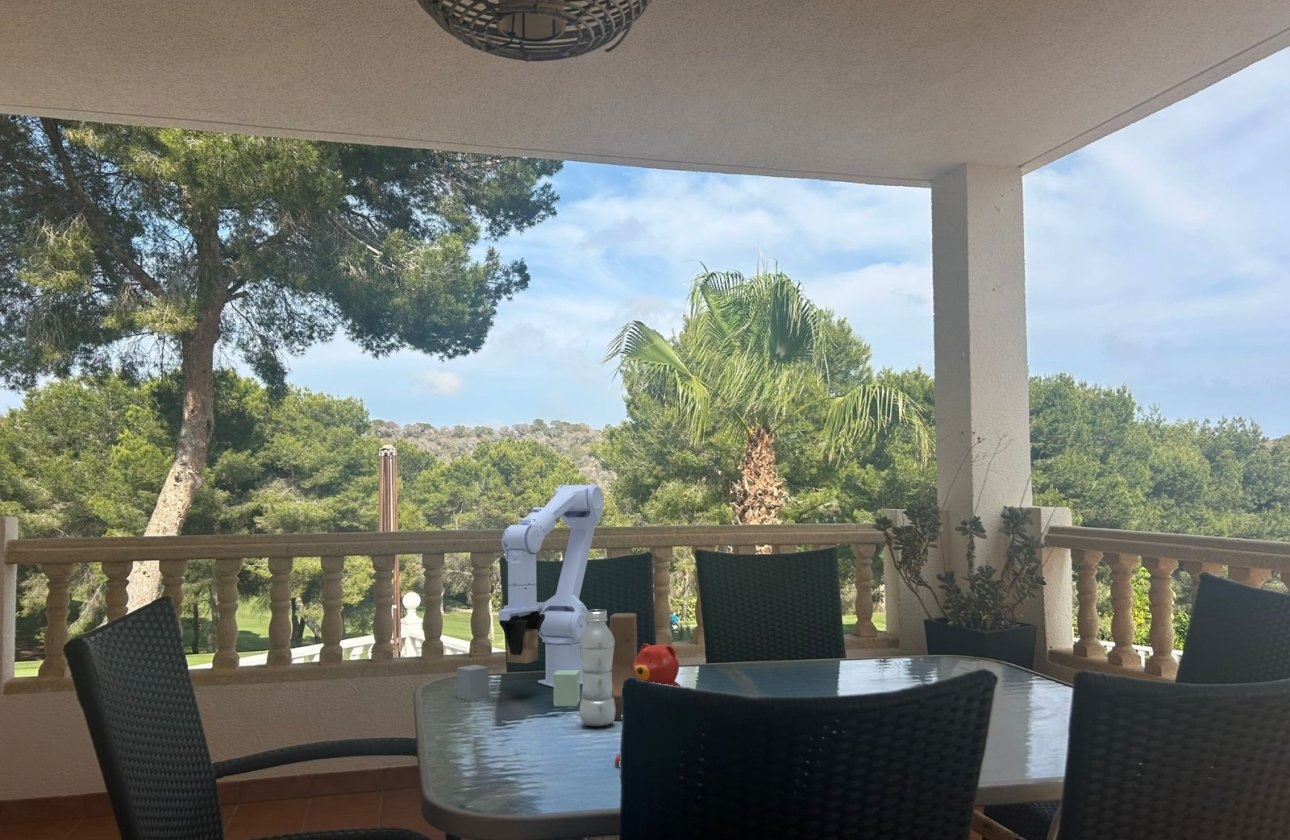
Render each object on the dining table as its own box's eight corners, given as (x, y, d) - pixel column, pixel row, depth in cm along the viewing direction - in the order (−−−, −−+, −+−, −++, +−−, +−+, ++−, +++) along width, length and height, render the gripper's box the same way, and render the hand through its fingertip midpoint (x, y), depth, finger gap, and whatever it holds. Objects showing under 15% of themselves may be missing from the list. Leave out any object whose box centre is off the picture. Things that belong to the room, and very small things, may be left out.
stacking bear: (608, 765, 140) (607, 645, 141) (656, 752, 147) (654, 637, 148) (660, 780, 132) (657, 653, 134) (707, 765, 139) (705, 644, 141)
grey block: (475, 694, 192) (475, 664, 193) (488, 697, 189) (488, 667, 190) (457, 697, 189) (457, 667, 190) (470, 701, 186) (470, 670, 187)
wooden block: (631, 720, 167) (630, 619, 169) (606, 720, 168) (605, 619, 169) (638, 709, 176) (636, 612, 178) (614, 709, 177) (613, 612, 178)
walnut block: (519, 658, 191) (518, 628, 191) (538, 659, 189) (537, 629, 189) (507, 661, 187) (507, 631, 187) (526, 663, 185) (526, 632, 185)
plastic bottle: (618, 721, 167) (617, 608, 169) (613, 730, 161) (612, 613, 162) (583, 721, 168) (581, 608, 170) (576, 730, 161) (575, 613, 163)
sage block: (557, 701, 185) (557, 670, 185) (580, 701, 185) (579, 670, 185) (553, 706, 180) (553, 674, 181) (576, 706, 180) (576, 674, 181)
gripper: (524, 580, 197) (524, 645, 196) (485, 587, 184) (485, 657, 183) (553, 581, 194) (553, 647, 193) (515, 588, 181) (516, 659, 180)
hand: (522, 652), depth 188 cm, fingers closed on walnut block, 4 cm apart
